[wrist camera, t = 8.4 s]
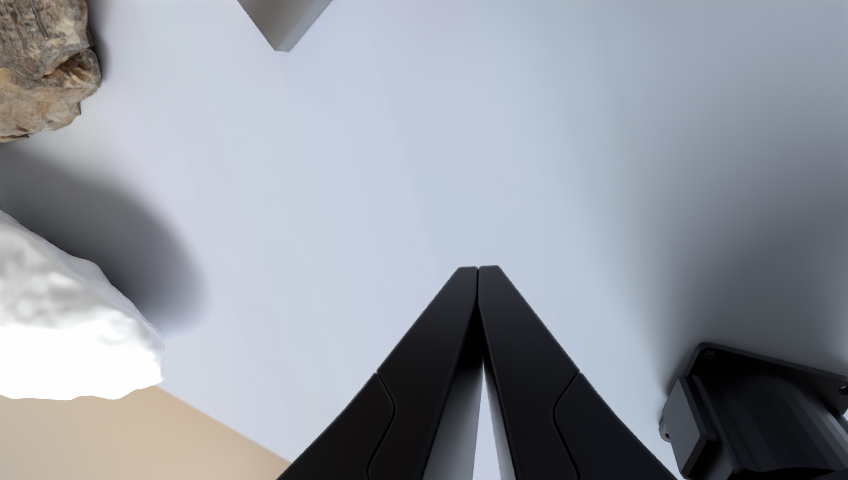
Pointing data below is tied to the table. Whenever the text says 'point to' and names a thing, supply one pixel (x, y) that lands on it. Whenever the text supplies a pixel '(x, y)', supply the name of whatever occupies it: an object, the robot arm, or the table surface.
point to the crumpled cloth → (67, 325)
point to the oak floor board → (283, 19)
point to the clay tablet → (44, 65)
